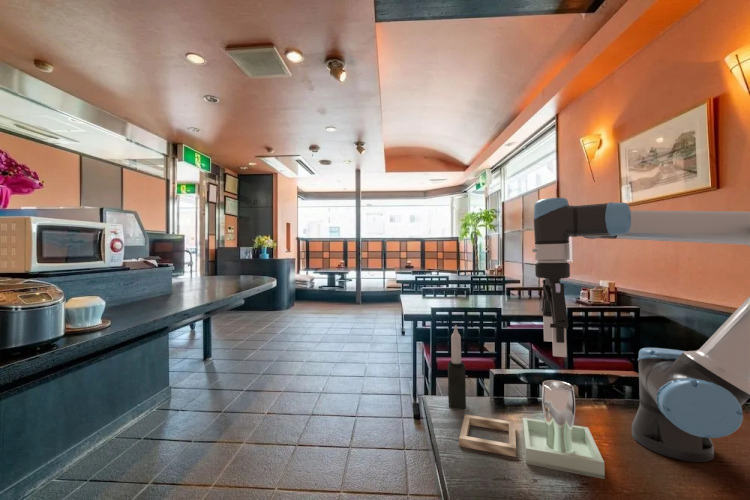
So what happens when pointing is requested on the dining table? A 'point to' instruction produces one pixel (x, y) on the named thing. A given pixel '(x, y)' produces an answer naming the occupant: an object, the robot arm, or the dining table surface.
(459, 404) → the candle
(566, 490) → the dining table surface
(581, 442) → the tray
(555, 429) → the beer glass
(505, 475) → the dining table surface
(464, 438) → the light wood square frame
